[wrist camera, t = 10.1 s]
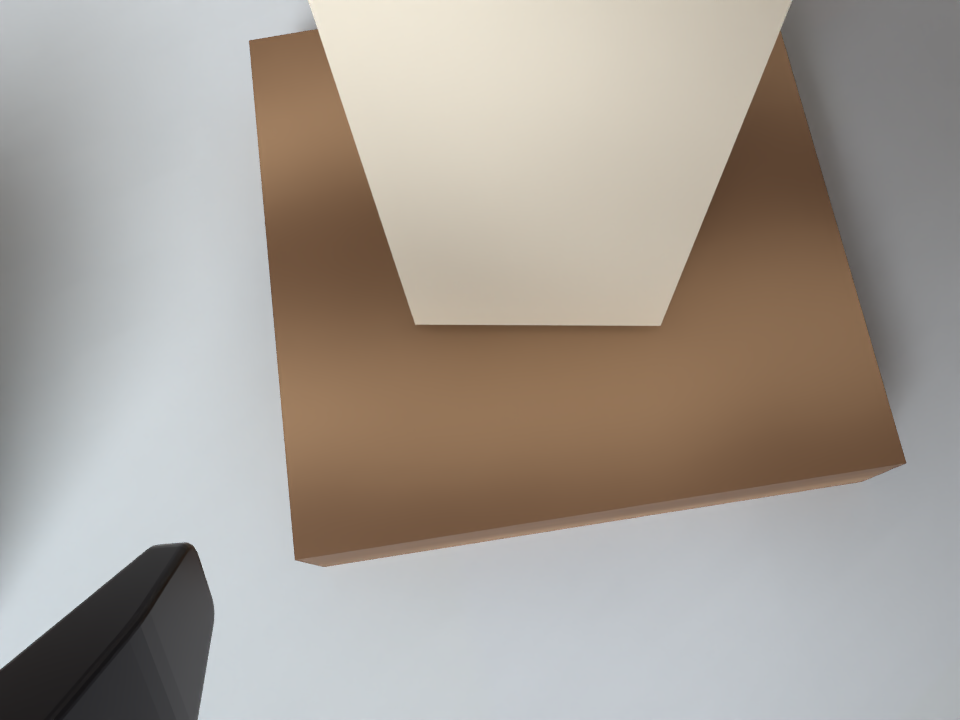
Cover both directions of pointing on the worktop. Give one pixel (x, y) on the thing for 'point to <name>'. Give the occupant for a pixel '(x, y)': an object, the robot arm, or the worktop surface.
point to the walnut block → (555, 354)
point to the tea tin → (544, 144)
